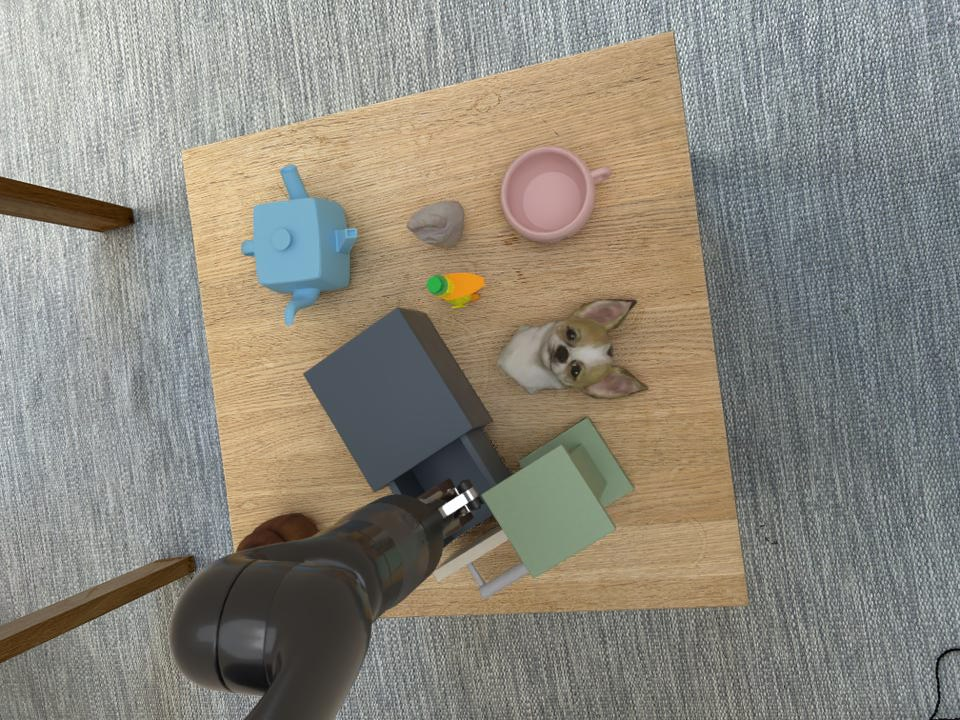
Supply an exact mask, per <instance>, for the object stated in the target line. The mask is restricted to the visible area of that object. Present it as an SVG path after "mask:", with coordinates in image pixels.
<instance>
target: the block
mask: <svg viewBox="0 0 960 720" xmlns="http://www.w3.org/2000/svg"><path fill="white" fill-rule="evenodd" d="M450 488H451V489H453V488H455V486H454V484H453V482H452V481H451V479H450V478H449V479H447V480H445V481H443V482H441V483H440V484H438V485H436V486H435V487H433V488H431V489H430V490H428V491H427V492H425V493H424V494H422V495H420V496H419V497H417V498H416V499H418V500H419V499H427V498H428V497H430V496H432V495H433V494H435V493H436V492H438V491H441V492H443V493H444V494H446V493H447V492H446V491H447V490H449V489H450ZM473 518H474V517H473V515H472V513H471V512H469V513H467V512H466V515H464V516H460V517H459V520H460V523H459V525H457V526H456V527H455V528H453V529H452V530H450V531H449V532H448V533H446V535H445V538H446V537H448V536H450V535H451V534H453V533H455V532H456V531H458V530H459V529H461V528H462V527H464V526H465V525H466V524H467V523H468V522H470V521H471V520H472V519H473ZM445 538H444V539H445Z"/></svg>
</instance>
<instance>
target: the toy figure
mask: <svg viewBox="0 0 960 720" xmlns="http://www.w3.org/2000/svg"><path fill="white" fill-rule="evenodd" d="M485 286H486V280H485V277H484V276H481V275H478V274H476V273H470V272H453V273H452V272H451V273H446V274H434V275H433V276H431V277H430V278H428V279H427V281H426V288H427V290H428V292H429V293H430V294H431V295H432V296H433V297H434V298H437V299H442V300H445V301H446V302H447V304H452V306H451V310H459V309H464V308H467V307H468V305H466V304H468V303H474V302H477V301H478V300H480V294H477V292H479V291H480V290H481V289H482V288H483V287H485Z"/></svg>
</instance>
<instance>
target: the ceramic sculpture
mask: <svg viewBox="0 0 960 720" xmlns="http://www.w3.org/2000/svg"><path fill="white" fill-rule="evenodd" d="M638 302H639V301H638V299H623V298H605V299H604V298H603V299H602V298H601V299H600V298H597V299H595V300H593V301H590V302H586V303H582V305H580V306H579V307H578V308H576V309H575V310H574V311H573V313H572V314H571V316H570V317H569V318H566V319H564V320H559V321H558V320H556V321H554V320H551V321H549V322H548V323H544V324H542V325H533V324H528V323H523V324H520V326H519V327H518V329H517V330H516V332H515V333H514V334H513V335H512V337H511V339H510V340H509V341H508V343H507V344H506V345H505V346H504V347H503V349H502V350H501V352H500V354H499V356H498V357H497V359H496V366H497V367H498V368H500V370H501V371H502V372H503V373H504V374H505V375H506V376H508V377H509V378H511V379H512V380H513V381H514V382H516V383H517V384H518V385H519V386H521V388H523V390H525V392H526V393H528V394H529V395H535V394H537V393H539V392H541V391H543V390H545V389H552V390H558V391H560V390H566V389H570V388H572V389H573V388H574V389H579V390H580V391H581V392H583V394H585V395H586V396H589V397H591V398H593V399H595V400H600V399H601V400H609V401H613V400H615V399H621V398H624V397H628V396H629V397H630V396H632V395H635V394H637V393H642V392H646V391H649V389H650V387H649V386H648V385H647V384H646V383H644V382H642V381H640V380H639V379H638V378H637V377H636V376H635V375H634V374H632V372H631V371H630V370H629V369H627V368H625V367H617V366H612V364H613V359H614V346H613V343H612V340H611V339H612V338H611V337H610V334H609V332H608V331H611V330H613V329H618V328H619V327H620V326H621V325H622V324H623V323H624V322H625V320H626V319H627V317H628V316H629V314H630V312H631V311H632V309H633V308H635V307H636V306H637V304H638Z"/></svg>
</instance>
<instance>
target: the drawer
mask: <svg viewBox="0 0 960 720" xmlns="http://www.w3.org/2000/svg"><path fill="white" fill-rule="evenodd" d="M511 475H512V474H511V472H510V471H509V469H508V467H507V466H506V464H505V462H504V461H503V459H502V458H501V456H500V454H499V453H498V451H497V450H496V448H495V446H494V445H493V443H492V442H491V440H490V439H489V437H488V435H487V434H486V432H485V431H484V428H482V427H480V428H477V429H474V430H471V431H469V432H467V433H466V434H464V435H463V436H461V437H460V438H458V439H457V440H455V441H454V442H452V443H451V444H449V445H447V446H446V447H444V448H443V449H441V450H440V451H438V452H437V453H435V454H434V455H432V456H431V457H429V458H427V459H426V460H424V461H423V462H421V463H420V464H418V465H417V466H415V467H414V468H412V469H411V470H409V471H407V472H406V473H404V474H403V475H401V476H400V477H398V478H397V479H395V480H394V481H392V482H391V483H389V484H388V486H387V487H388V488H389V490H390V491H391V493H392V495H393V494H401V495H407V496H411V497H414V498H417V497H419V496H420V495H422V494H424V493H425V492H427V491H428V490H430V489H431V488H433V487H435V486H436V485H438V484H440V483H441V482H443V481H445V480H447V479H449V478H450V479H451V481H452V482H453V484H454V486H455V487H456V486H458V485H459V484H460V483H459V482H461V481H462V480H467V479H470V481H471V482H472V484H473V486H474V488H475V489H476V491H477V492H478V494H479V496H480V497H481V498H482V500H483V502H484V504H482V505H481V508H479V509H478V510H476V509H475V510H473V511H470V512H471V513H472V515H473V517H474V518H473V519H472V520H471V521H470V522H468V523H467V524H466V525H465V526H464V527H462V528H461V529H459V530H458V531H456V532H455V533H453V534H451V535H450V536H448V537H446V538H445V539H443V549H445V548H446V547H447V546H448V545H450V543H452V542H453V541H454V540H456V539H457V538H459V537H460V536H461V535H463V534H465V533H467V532H468V531H470V530H472V529H473V528H475V527H476V526H478V525H479V524H481V523H483V522H484V521H486V520H488V519H490V518H491V517H494V515H493V513H492V512H491V510H490V509H489V507H488V505H487V504H486V502H485V500H484V499H483V497H482V496H481V495H482V494H483V493H484V492H486V491H487V490H489V489H491V488H492V487H494V486H495V485H497V484H499V483H500V482H502V481H503V480H505V479H506V478H508V477H510V476H511ZM507 541H509V539H508V538H507V536H506V534H505V533H504V531H503V530H502V528H501V526H500V525H499V524H498V525H496V526H495V527H493V528H492V529H490V530H489V531H486V532H485V533H484V534H482V535H479V537H477V538H475V539H474V540H472V541H470V542H469V543H467V544H466V545H464V546H462V547H461V548H459V549H458V550H455V551H454V552H453V553H452V554H450V555H449V556H448V557H447V558H446V559H445V560H444V561H443V562H442V563H440V565H438V566H437V567H436V569H435V570H434V572H433V573H432V575H433V576H434V578H435V581H437V583H440V582H442V581H443V580H445V579H447V578H448V577H450V576H452V575H453V574H455V573H457V572H458V571H459V570H461V569H463V568H464V567H467V569H468V571H469V572H470V574H471V575H472V577H473V580H474V581H475V582H476V584H477V585H478V592H479V595H480V596H481V597H482V599H484V600H487V599H488V598H490V597H492V596H493V595H495V594H496V593H498V592H500V591H502V590H503V589H505V588H507V587H509V586H511V585H512V584H514V583H515V582H517V581H519V580H520V579H522V578H525V576H527V575H528V574H529V575H530V573H529V572H528V570H527V568H526V567H525V565H524V564H523V562H522V561H520V562H519V563H517V564H515V565H513V566H511V567H510V568H508V569H507V570H504V571H503V572H502V573H499V574H497V575H496V576H495V577H493V578H492V579H490V580H488V581H486V582H485V580H484V579H483V577H482V576H481V574H480V572H479V570H478V569H477V567H476V565H475V563H474V561H476V560H478V559H480V558H482V557H483V556H484V555H486V554H487V553H490V552H491V551H493V550H494V549H495V548H497V547H499V546H501V545H502V544H504V543H506V542H507Z"/></svg>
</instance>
